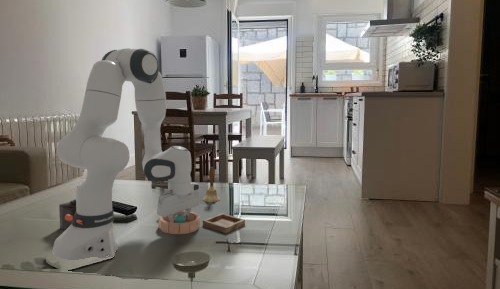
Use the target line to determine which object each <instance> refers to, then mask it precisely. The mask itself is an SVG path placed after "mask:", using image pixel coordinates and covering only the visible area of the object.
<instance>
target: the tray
mask: <svg viewBox="0 0 500 289" xmlns="http://www.w3.org/2000/svg"><path fill="white" fill-rule="evenodd" d="M245 225H246V219H243V218H240V217H237V216H233V215H230V214H226V213H223V212H221V213H218V214H216V215H213V216H211V217H209V218H206V219H203V220H202V226H203V227H205V228H208V229H212V230H214V231H218V232H222V233H223V234H227V233H230V232H233V231H235V230H237V229H238V228H241V227H243V226H245Z"/></svg>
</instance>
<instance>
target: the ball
mask: <svg viewBox="0 0 500 289" xmlns="http://www.w3.org/2000/svg"><path fill="white" fill-rule="evenodd" d="M174 219H175V220H176V223H184V222H185V217H184V216H183V215H181V214H178V215H176V216H175V217H174Z"/></svg>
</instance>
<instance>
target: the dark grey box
mask: <svg viewBox="0 0 500 289" xmlns="http://www.w3.org/2000/svg"><path fill="white" fill-rule="evenodd" d="M78 186H79V185H78ZM78 186H77V187H78ZM77 187H76V188H77ZM58 209H59V229H61V230H62V231H65V230H66V229H67V228H68V227H69V226H70V225H71V224H72V221H68V220H66V219H65V216H66V215H67V214H70V215H72V216H73V217H74V214H75V212H76V198H75V199H73V200H70V201H69V202H65V203H61V204H59V208H58Z"/></svg>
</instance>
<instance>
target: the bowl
mask: <svg viewBox="0 0 500 289" xmlns="http://www.w3.org/2000/svg"><path fill="white" fill-rule="evenodd" d="M185 211H186V210H184V211H181V212H178V213H175V214H174V216H173V219H174V217H175V216H176V215H178V214H181V215H184V214H185ZM200 220H201V216H200V215H199V214H198V213H196V212H194V211H192V210H191V211H190V214H189V219H187V220H185V222H184V223H170V220H169V218H168V216H167V217H162V216H159V217H158V228H159V231H161V232H163V233H166V234H169V235H187V234H191V233H194V232H196V231H197V230H199V229H200V226H201V225H200V224H201V221H200Z"/></svg>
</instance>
